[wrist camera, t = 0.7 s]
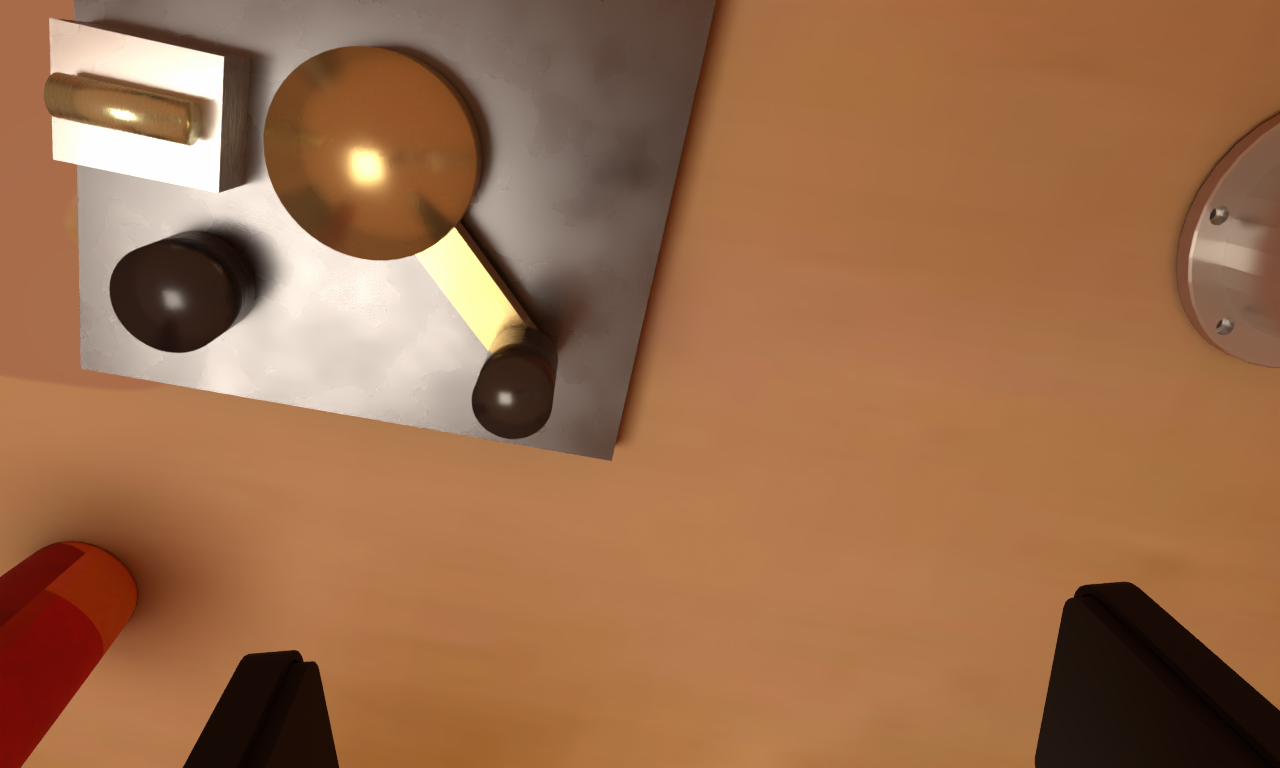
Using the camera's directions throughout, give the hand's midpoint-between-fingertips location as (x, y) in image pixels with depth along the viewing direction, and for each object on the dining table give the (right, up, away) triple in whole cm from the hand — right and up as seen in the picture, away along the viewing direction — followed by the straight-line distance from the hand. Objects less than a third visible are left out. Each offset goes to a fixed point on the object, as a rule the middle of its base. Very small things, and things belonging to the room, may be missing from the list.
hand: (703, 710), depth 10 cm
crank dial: (-9, +11, +24) cm, 28 cm away
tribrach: (-11, +14, +25) cm, 31 cm away
